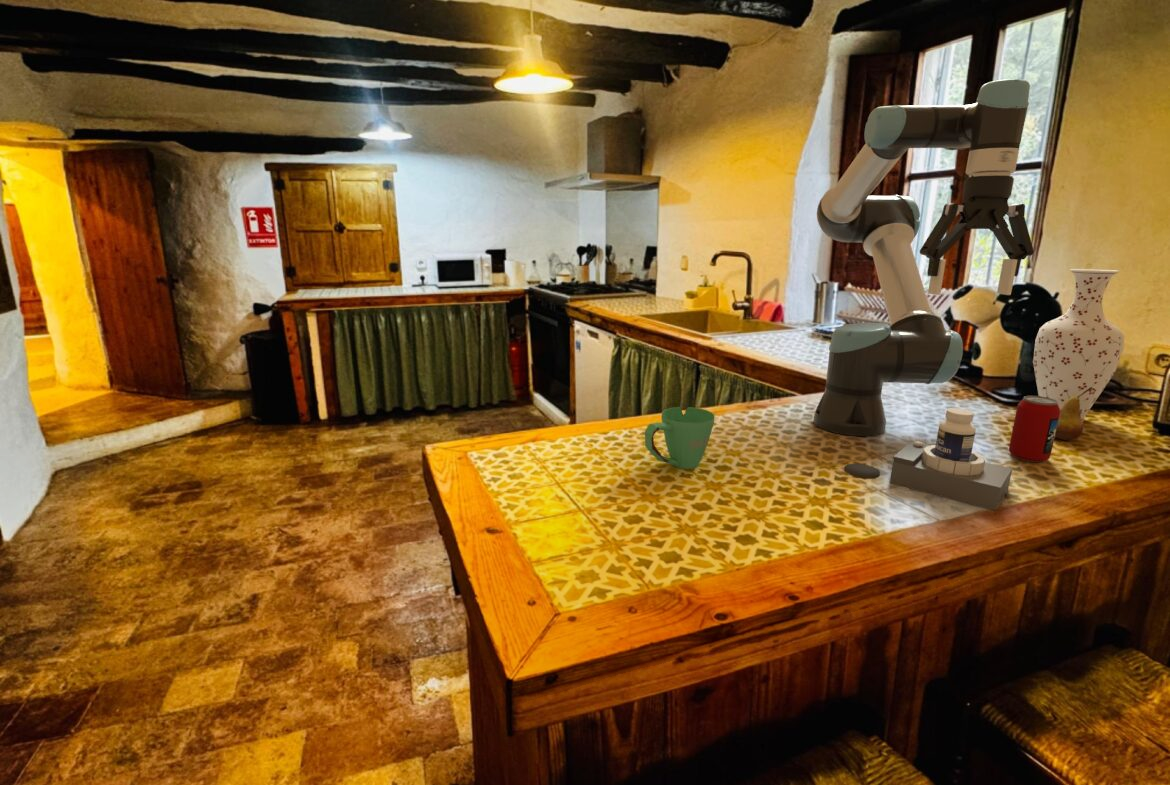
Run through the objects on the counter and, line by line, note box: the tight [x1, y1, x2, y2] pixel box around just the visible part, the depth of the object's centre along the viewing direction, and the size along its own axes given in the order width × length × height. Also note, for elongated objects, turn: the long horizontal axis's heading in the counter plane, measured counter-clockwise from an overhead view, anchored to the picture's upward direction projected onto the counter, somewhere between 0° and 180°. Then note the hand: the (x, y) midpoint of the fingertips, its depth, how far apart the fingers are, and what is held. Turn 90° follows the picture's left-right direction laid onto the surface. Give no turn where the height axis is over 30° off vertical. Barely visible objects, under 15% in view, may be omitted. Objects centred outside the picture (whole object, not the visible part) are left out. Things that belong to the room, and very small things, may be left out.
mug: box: [644, 406, 715, 470], centre depth 112 cm, size 15×10×10 cm
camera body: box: [889, 440, 1013, 512], centre depth 105 cm, size 16×11×6 cm
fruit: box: [1055, 387, 1092, 442], centre depth 128 cm, size 6×6×12 cm
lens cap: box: [843, 463, 881, 479], centre depth 112 cm, size 6×6×1 cm
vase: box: [1032, 268, 1125, 422], centre depth 140 cm, size 16×16×35 cm
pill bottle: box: [934, 407, 977, 462], centre depth 103 cm, size 5×5×10 cm
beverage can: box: [1008, 395, 1060, 463], centre depth 118 cm, size 7×7×12 cm
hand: (968, 294), depth 114 cm, fingers open, 13 cm apart
